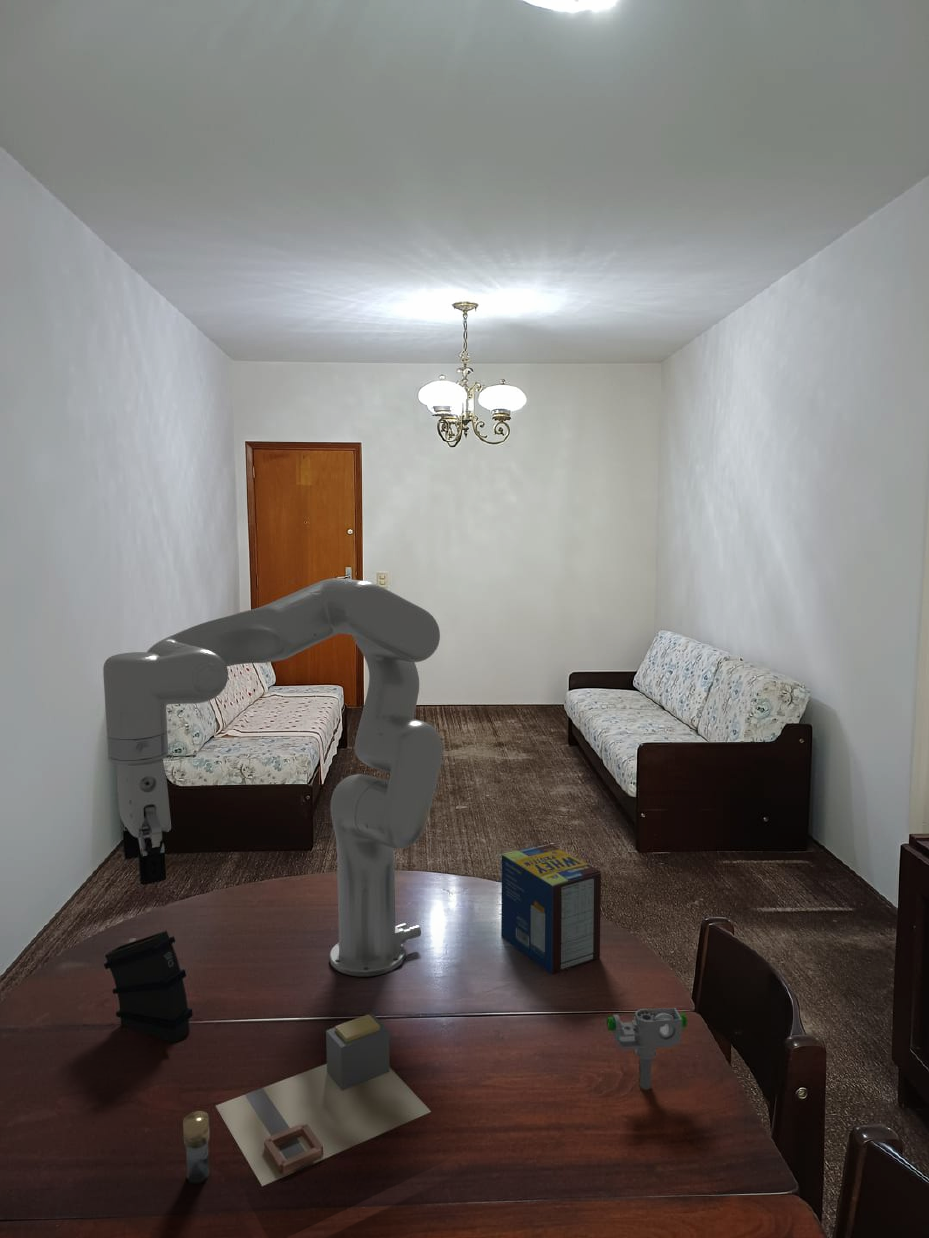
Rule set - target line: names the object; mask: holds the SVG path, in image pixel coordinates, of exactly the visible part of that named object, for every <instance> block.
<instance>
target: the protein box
mask: <svg viewBox="0 0 929 1238" xmlns="http://www.w3.org/2000/svg"><path fill="white" fill-rule="evenodd" d="M500 891H501V893H500V895H501V896H500V897H501V906H500V907H501V909H500V911H501V913H500V915H501V919H500V921H501V926H500V927H501V928H500V930H501V931H500V936H501V938H503V939H504V940H505V941H507V942H508V943H510V944H511V945H512V946H514V947H515V948H516V949H518V950H519V951H520V952H522V953H523V954H524V955H526V956H527V957H528V958H529V959H531V960H532V961H533V962H535V963H536V964H537V965H538V966H540V967H541V968H542V969H544V970H545V971H546V972H548V973H549V974H551V975H552V974H553V975H554V974H556V973H559V972H562V971H565V970H568V969H572V968H574V967H577V966H579V965H583V964H586V963H589V962H592V961H595V960H598V959H600V958H601V917H602V916H601V913H602V912H601V909H602V908H601V907H602V905H601V903H602V871H601V870H599V869H598V868H596V867H594V866H592V865H590V864H588V863H586V862H585V861H583V860H581V859H579V858H578V857H575V856H573V855H571V854H569V853H568V852H566V851H564V850H562V849H560V848H558V847H557V846H555V845H553V844H551V843H549V842H546V843H543V844H538V845H537V844H536V845H534V846H529V847H526V848H521V849H518V850H516V849H515V850H513V851H509V852H505V853H501V890H500Z"/></svg>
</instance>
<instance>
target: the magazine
mask: <svg viewBox="0 0 929 1238" xmlns="http://www.w3.org/2000/svg"><path fill="white" fill-rule="evenodd" d="M175 942H176V939H175V936H169V933H168V931H167V930H164V931H161V932H158V933H155V934H153V935H149V936H147V937H143V938H140V939H138V940H134V941H132V942H128V943H125V944H122V945H119V946H118V947H116V948H114V949H113V950H110V951H109V952H107V953H105V954H104V957H105V959H106V962H105V963H104V964H103V967H104V969H105V970H108V969H109V970H110V972H111V975H112V978H113V980H114V981H113V982H114V984H115V988H114V989H112V994H113V995H115V994H116V995H117V997H118V1005H119V1010H117V1011H116V1012H115V1017H116V1018H120V1024H121V1026H123V1027H125V1028H128V1029H131V1030H135V1031H137V1032H141V1033H143V1034H146V1035H149V1036H153V1037H155V1038H159V1039H160V1040H164V1041H165V1042H166V1041H167V1042H170V1043H173V1044H177V1043H178V1042H179V1041H181V1040H182V1039H184V1038H185V1037H186V1036H187V1035H188V1034H190V1031H191V1030H190V1021H189V1019H190V1018H191V1017H193V1009H192V1008H189V1007H188V1001H187V992H186V987H185V983H184V978H186V977H187V974H186V970H185V969H181V968H180V964H179V960H178V956H177V953H176V951H175V948H174V946H173V944H174V943H175Z"/></svg>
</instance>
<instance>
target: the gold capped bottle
mask: <svg viewBox="0 0 929 1238" xmlns="http://www.w3.org/2000/svg"><path fill="white" fill-rule="evenodd" d="M182 1128H183V1144H184V1146H185V1151H186V1152H185V1155H186V1156H185V1157H186V1158H185V1159H186V1176H187V1177H186V1179H187V1181H188V1182H189V1183H191V1184H200V1183H202V1182H204V1181H206V1180H207V1179H208V1178H209V1175H210V1165H209V1164H210V1163H209V1162H210V1161H209V1141H210V1138H211V1137H210V1117H209V1113H207V1112H206V1111H203V1110H196V1111H192V1112H190V1113H188V1114H187V1115H185V1116H184V1118H183V1120H182Z"/></svg>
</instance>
